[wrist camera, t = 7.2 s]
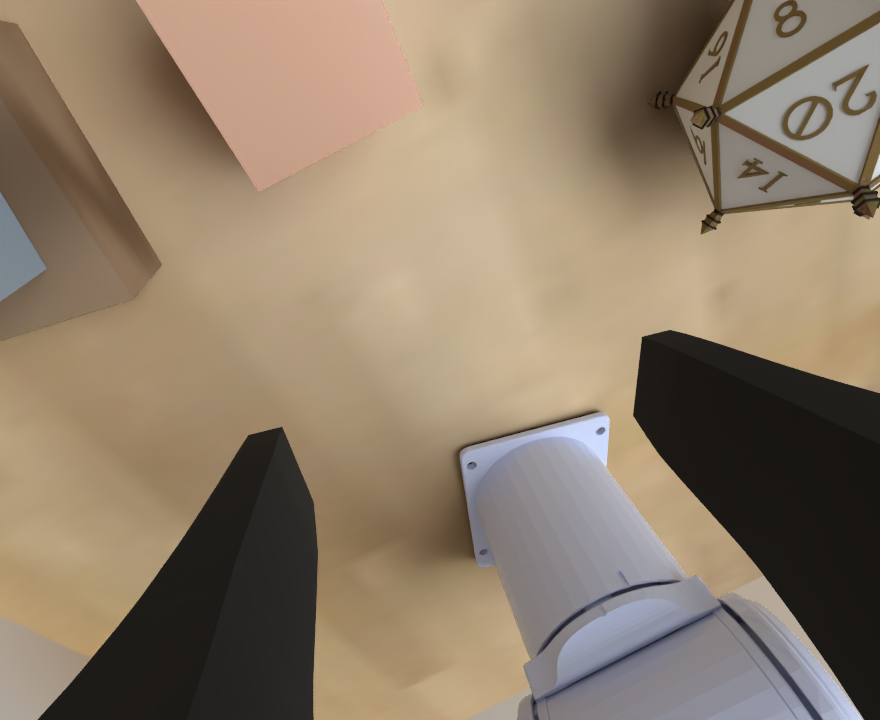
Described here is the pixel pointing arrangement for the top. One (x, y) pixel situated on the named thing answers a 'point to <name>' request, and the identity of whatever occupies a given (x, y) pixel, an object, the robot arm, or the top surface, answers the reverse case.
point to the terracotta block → (288, 74)
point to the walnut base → (60, 203)
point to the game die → (786, 106)
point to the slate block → (15, 253)
